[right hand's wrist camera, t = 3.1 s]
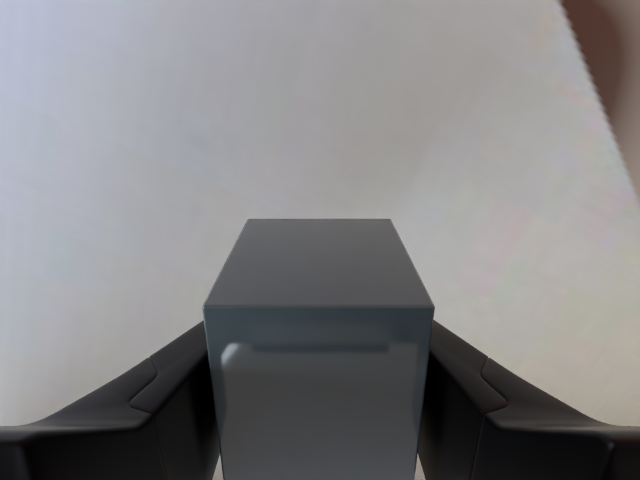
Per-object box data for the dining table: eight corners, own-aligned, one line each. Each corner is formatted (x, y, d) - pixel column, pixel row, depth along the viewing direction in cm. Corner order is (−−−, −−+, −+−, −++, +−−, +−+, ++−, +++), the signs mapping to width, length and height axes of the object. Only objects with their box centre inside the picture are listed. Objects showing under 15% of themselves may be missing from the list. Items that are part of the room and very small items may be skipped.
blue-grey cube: (391, 218, 11) (435, 306, 7) (381, 364, 13) (412, 507, 9) (247, 218, 11) (201, 306, 7) (257, 364, 13) (225, 506, 9)
